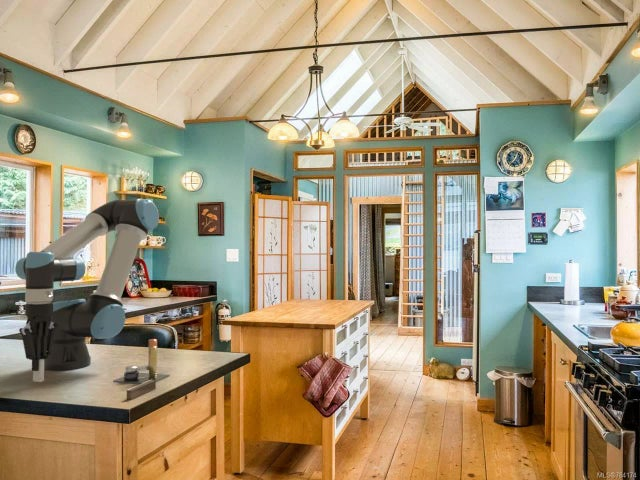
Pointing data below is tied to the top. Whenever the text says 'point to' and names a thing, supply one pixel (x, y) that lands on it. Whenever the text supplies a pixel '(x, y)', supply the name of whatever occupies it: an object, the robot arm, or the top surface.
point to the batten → (141, 389)
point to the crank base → (144, 377)
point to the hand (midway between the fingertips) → (38, 380)
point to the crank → (141, 368)
